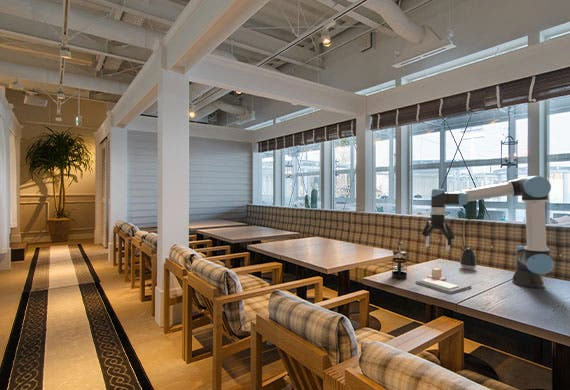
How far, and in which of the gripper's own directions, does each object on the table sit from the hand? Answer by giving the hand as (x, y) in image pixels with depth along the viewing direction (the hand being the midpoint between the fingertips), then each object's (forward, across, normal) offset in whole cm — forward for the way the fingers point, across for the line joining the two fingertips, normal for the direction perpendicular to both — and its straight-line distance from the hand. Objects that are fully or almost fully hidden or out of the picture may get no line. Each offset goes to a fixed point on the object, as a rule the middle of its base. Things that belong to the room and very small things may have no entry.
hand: (437, 248), depth 198 cm
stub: (+18, 0, 0) cm, 18 cm away
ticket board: (+20, +7, -5) cm, 22 cm away
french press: (+20, -17, -14) cm, 30 cm away
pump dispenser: (+21, -7, +46) cm, 51 cm away
